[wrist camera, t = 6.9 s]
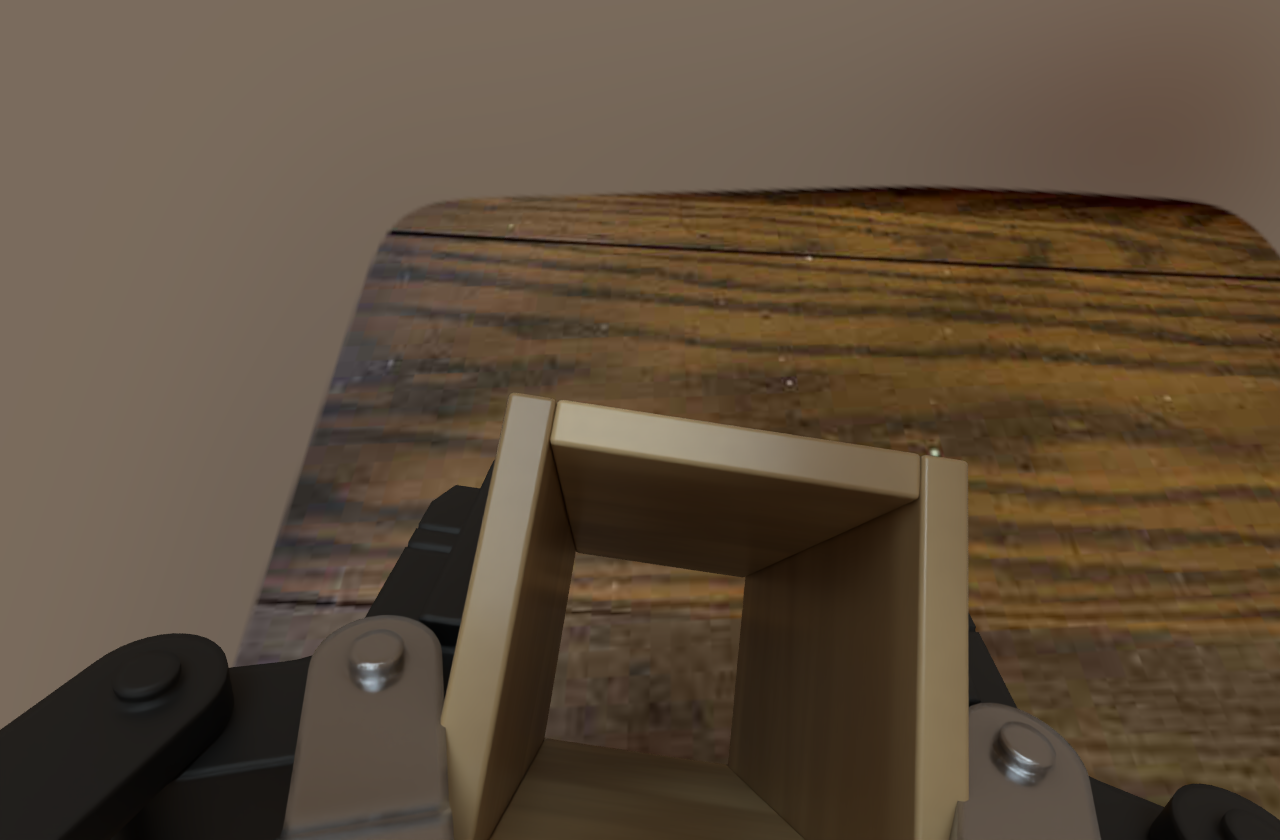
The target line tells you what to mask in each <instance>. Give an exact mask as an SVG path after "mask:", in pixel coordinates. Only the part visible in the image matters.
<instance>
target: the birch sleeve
mask: <svg viewBox="0 0 1280 840" xmlns="http://www.w3.org/2000/svg"><path fill="white" fill-rule="evenodd" d="M575 552H578V553H583V554H589V555H596V556H603V557H609V558H616V559H623V560H630V561H636V562H643V563H650V564H656V565H663V566H670V567H676V568H683V569H690V570H697V571H703V572H710V573H717V574H723V575H730V576H737V577H745V576H746V577H745V587H744V598H743V609H742V620H741V631H740V641H739V652H738V663H737V674H736V685H735V695H734V706H733V717H732V728H731V739H730V749H729V760H728V766H727V765H724V764H717V763H710V762H704V761H697V760H690V759H683V758H676V757H669V756H662V755H656V754H649V753H642V752H635V751H628V750H621V749H615V748H608V747H601V746H594V745H587V744H580V743H574V742H567V741H560V740H553V739H545V740H544V738H545V732H546V726H547V720H548V714H549V708H550V702H551V696H552V690H553V684H554V678H555V672H556V666H557V660H558V654H559V648H560V642H561V636H562V630H563V624H564V618H565V612H566V606H567V600H568V594H569V588H570V582H571V576H572V570H573V564H574V558H575ZM441 725H442V726H444V727H446V746H447V767H448V788H449V804H450V808H451V809H452V817H453V830H454V840H949V836H950V832H951V827H952V823H953V818H954V814H955V810H956V805H957V801H964V802H965V801H967V800H969V678H968V465H967V462H964V461H962V460H955V459H949V458H942V457H936V456H929V455H924V456H921V457H919V455H917V454H915V453H909V452H903V451H896V450H889V449H883V448H876V447H870V446H863V445H856V444H850V443H843V442H837V441H830V440H824V439H817V438H810V437H804V436H797V435H791V434H784V433H777V432H771V431H764V430H758V429H751V428H745V427H738V426H731V425H725V424H718V423H712V422H705V421H698V420H692V419H685V418H679V417H672V416H665V415H659V414H652V413H646V412H639V411H633V410H626V409H619V408H613V407H606V406H600V405H593V404H586V403H580V402H573V401H567V400H561V401H559V402H558V403H557V405H556V401H555V400H554V399H552V398H547V397H540V396H534V395H527V394H521V393H511V394H510V396H509V397H508V401H507V406H506V410H505V415H504V420H503V425H502V429H501V434H500V439H499V444H498V448H497V453H496V458H495V463H494V467H493V472H492V477H491V482H490V486H489V491H488V496H487V501H486V505H485V510H484V515H483V519H482V524H481V529H480V534H479V538H478V543H477V548H476V553H475V557H474V562H473V567H472V572H471V576H470V581H469V586H468V591H467V595H466V600H465V605H464V610H463V614H462V619H461V624H460V629H459V633H458V638H457V643H456V648H455V652H454V657H453V662H452V667H451V671H450V676H449V681H448V686H447V690H446V695H445V700H444V705H443V709H442V714H441Z"/></svg>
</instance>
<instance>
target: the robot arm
mask: <svg viewBox="0 0 1280 840" xmlns="http://www.w3.org/2000/svg"><path fill="white" fill-rule="evenodd" d="M494 463H495V460H494V461H493V463H492V465H491V467H490V469H489V471H488V474H487V476H486V478H485V480H484V482H483V484H482V486H481V488H480V489H479V488H473V487H466V486H459V485H455V486H454V487H452V488H451V489H449V490H448V491H447V492H445V493H444V494H442V495H441V496H439V497H438V498H437V499H435V500H434V501H432V502H431V504H430V506H429V507H428V509H427V511H426V513H425V514H424V516H423V518H422V520H421V521H420V523H419V527H418V529H417V528H416V530H415V532H414V533H413V535H412V537H411V539H410V540H409V542H408V547H405V549H404V551H403V553H402V554H401V556H400V558H399V560H398V561H397V563H396V565H395V566H394V568H393V570H392V572H391V573H390V575H389V577H388V579H387V580H386V582H385V584H384V586H383V587H382V589H381V591H380V593H379V594H378V596H377V598H376V600H375V601H374V603H373V605H372V607H371V608H370V610H369V612H368V613H367V615H366V617H365V618H363V619H359V620H356V621H354V622H351V623H349V624H346V625H345V626H343V627H341V628H339V629H337V630H336V631H334V632H333V633H332V634H330V635H329V636H328V637H327V638H326V639H325V640H323V641H322V642H321V644H320V645H319V646H318V648H317V649H316V650H315V652H314V654H313V655H312V656H309V657H305V658H301V659H298V660H292V661H285V662H277V663H268V664H259V665H250V666H241V667H232V668H228V663H227V659H226V656H225V653H224V652H223V650H222V649H221V647H219V646H218V645H217V644H216V643H214V642H213V641H211V640H209V639H207V638H205V637H201V636H198V635H192V634H174V633H173V634H163V635H157V636H153V637H147V638H144V639H141V640H137V641H134V642H132V643H129V644H127V645H124V646H122V647H120V648H118V649H116V650H114V651H112V652H110V653H108V654H106V655H105V656H103V657H102V658H100V659H99V660H97V661H96V662H94V663H93V664H91V665H90V666H89V667H87V668H86V669H84V670H83V671H82V672H80V673H79V674H78V675H76V676H75V677H74V678H72V679H71V680H69V681H68V682H67V683H65V684H64V685H62V686H61V687H59V688H58V689H57V690H55V691H54V692H53V693H51V694H50V695H48V696H47V697H46V698H44V699H43V700H41V701H40V702H39V703H37V704H36V705H34V706H33V707H32V708H30V709H29V710H27V711H26V712H25V713H23V714H22V715H21V716H19V717H18V718H16V719H15V720H14V721H12V722H11V723H9V724H8V725H7V726H5V727H4V728H2V729H1V730H0V840H454V830H453V817H452V809H451V808H450V804H449V788H448V767H447V746H446V727H444V726H442V725H441V714H442V709H443V705H444V700H445V695H446V690H447V686H448V681H449V676H450V671H451V667H452V662H453V657H454V652H455V648H456V643H457V638H458V633H459V629H460V624H461V619H462V614H463V610H464V605H465V600H466V595H467V591H468V586H469V581H470V576H471V572H472V567H473V562H474V557H475V553H476V548H477V543H478V538H479V534H480V529H481V524H482V519H483V515H484V510H485V505H486V501H487V496H488V491H489V486H490V482H491V477H492V472H493V467H494ZM975 628H976V626H975V624H974V622H973V620H972V618H971V616H970V615H969V613H968V678H969V800H967V801H965V802H964V801H957V805H956V810H955V814H954V818H953V823H952V827H951V832H950V836H949V840H1280V820H1279V819H1277V818H1276V817H1275V816H1273V815H1272V814H1270V813H1269V812H1267V811H1266V810H1265V809H1263V808H1262V807H1260V806H1258V805H1256V804H1255V803H1253V802H1251V801H1250V800H1248V799H1246V798H1244V797H1242V796H1240V795H1238V794H1235V793H1233V792H1230V791H1228V790H1225V789H1223V788H1219V787H1215V786H1212V785H1205V784H1190V785H1185V786H1183V787H1181V788H1180V789H1178V790H1177V792H1176V793H1175V794H1174V795H1173V797H1172V798H1171V799H1170V801H1169V802H1168V803H1167V805H1166V806H1165V807H1162V806H1160V805H1157V804H1155V803H1152V802H1150V801H1147V800H1145V799H1143V798H1140V797H1138V796H1135V795H1133V794H1130V793H1128V792H1125V791H1123V790H1120V789H1118V788H1115V787H1113V786H1110V785H1108V784H1105V783H1103V782H1101V781H1098V780H1096V779H1094V778H1092V777H1090V776H1088V773H1087V770H1086V768H1085V766H1084V764H1083V762H1082V760H1081V759H1080V757H1079V756H1078V754H1077V753H1076V752H1075V750H1074V749H1073V748H1072V747H1071V746H1070V744H1069V743H1068V742H1067V741H1066V740H1065V739H1064V738H1063V737H1062V736H1061V735H1060V734H1058V733H1057V732H1056V731H1055V730H1054V729H1052V728H1051V727H1050V726H1048V725H1047V724H1045V723H1044V722H1042V721H1041V720H1039V719H1038V718H1036V717H1034V716H1032V715H1030V714H1029V713H1026V712H1024V711H1022V710H1020V709H1017V707H1016V705H1015V703H1014V701H1013V699H1012V697H1011V695H1010V693H1009V691H1008V689H1007V687H1006V685H1005V683H1004V681H1003V679H1002V677H1001V675H1000V673H999V671H998V669H997V667H996V665H995V664H994V662H993V660H992V658H991V656H990V654H989V652H988V650H987V648H986V646H985V644H984V642H983V640H982V638H981V636H980V634H979V632H975Z"/></svg>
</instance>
